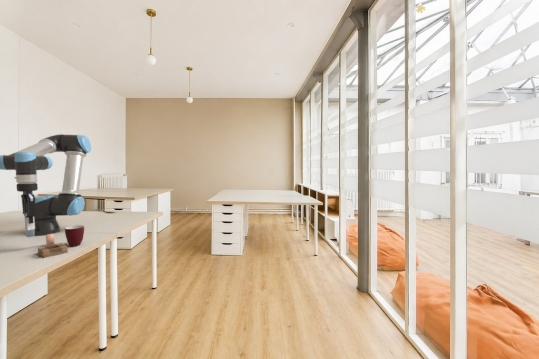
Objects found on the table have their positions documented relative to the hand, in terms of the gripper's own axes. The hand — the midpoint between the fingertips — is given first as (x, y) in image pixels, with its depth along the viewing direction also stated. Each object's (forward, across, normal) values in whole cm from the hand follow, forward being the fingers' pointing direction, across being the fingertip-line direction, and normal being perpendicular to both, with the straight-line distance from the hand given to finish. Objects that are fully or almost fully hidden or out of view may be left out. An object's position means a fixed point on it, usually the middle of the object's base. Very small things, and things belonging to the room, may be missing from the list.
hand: (30, 228), depth 127 cm
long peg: (+4, 0, 0) cm, 4 cm away
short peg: (+11, +1, +7) cm, 13 cm away
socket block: (+10, +16, +4) cm, 19 cm away
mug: (+11, +10, +15) cm, 21 cm away
